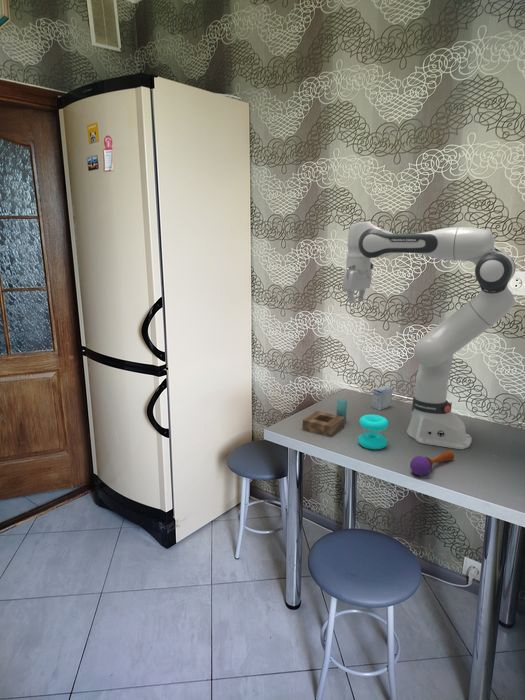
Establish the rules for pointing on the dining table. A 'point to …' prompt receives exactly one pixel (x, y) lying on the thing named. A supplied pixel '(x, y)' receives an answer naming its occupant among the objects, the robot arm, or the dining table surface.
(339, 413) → the teal rounded cylinder
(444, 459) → the kendama
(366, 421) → the donuts
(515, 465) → the dining table surface
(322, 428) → the brown square frame block
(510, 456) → the dining table surface
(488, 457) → the dining table surface
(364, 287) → the robot arm
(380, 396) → the medicine box
